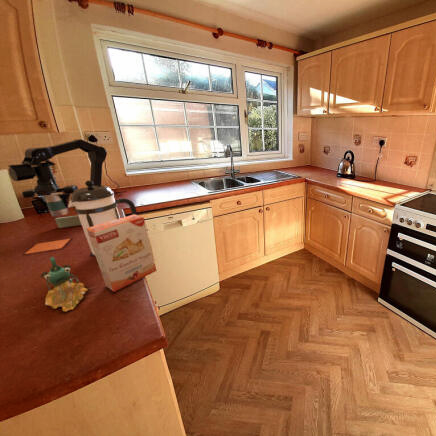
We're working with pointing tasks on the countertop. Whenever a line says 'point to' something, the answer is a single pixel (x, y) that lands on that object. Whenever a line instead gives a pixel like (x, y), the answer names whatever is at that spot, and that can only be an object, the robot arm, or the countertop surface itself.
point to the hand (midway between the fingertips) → (58, 208)
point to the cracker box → (122, 251)
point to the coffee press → (96, 206)
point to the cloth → (48, 246)
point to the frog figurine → (63, 288)
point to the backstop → (68, 221)
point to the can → (56, 204)
